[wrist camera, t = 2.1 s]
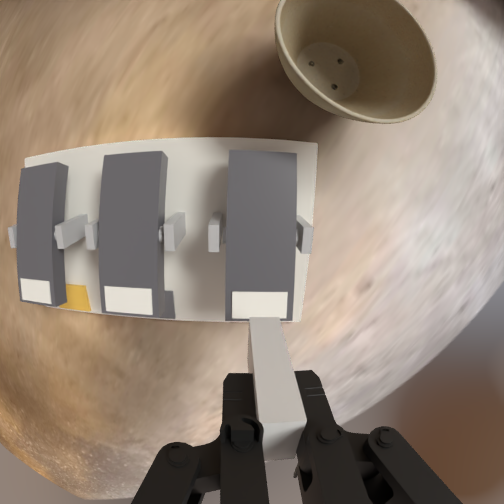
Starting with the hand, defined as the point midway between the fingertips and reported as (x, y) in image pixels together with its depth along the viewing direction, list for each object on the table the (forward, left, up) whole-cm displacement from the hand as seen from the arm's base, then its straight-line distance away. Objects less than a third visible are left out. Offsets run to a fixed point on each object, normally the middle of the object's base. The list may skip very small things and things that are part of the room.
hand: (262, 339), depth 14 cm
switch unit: (-3, -8, -8) cm, 12 cm away
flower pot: (-16, +5, -9) cm, 19 cm away
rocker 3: (-4, 0, -4) cm, 6 cm away
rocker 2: (-4, -8, -4) cm, 10 cm away
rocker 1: (-4, -16, -4) cm, 17 cm away
